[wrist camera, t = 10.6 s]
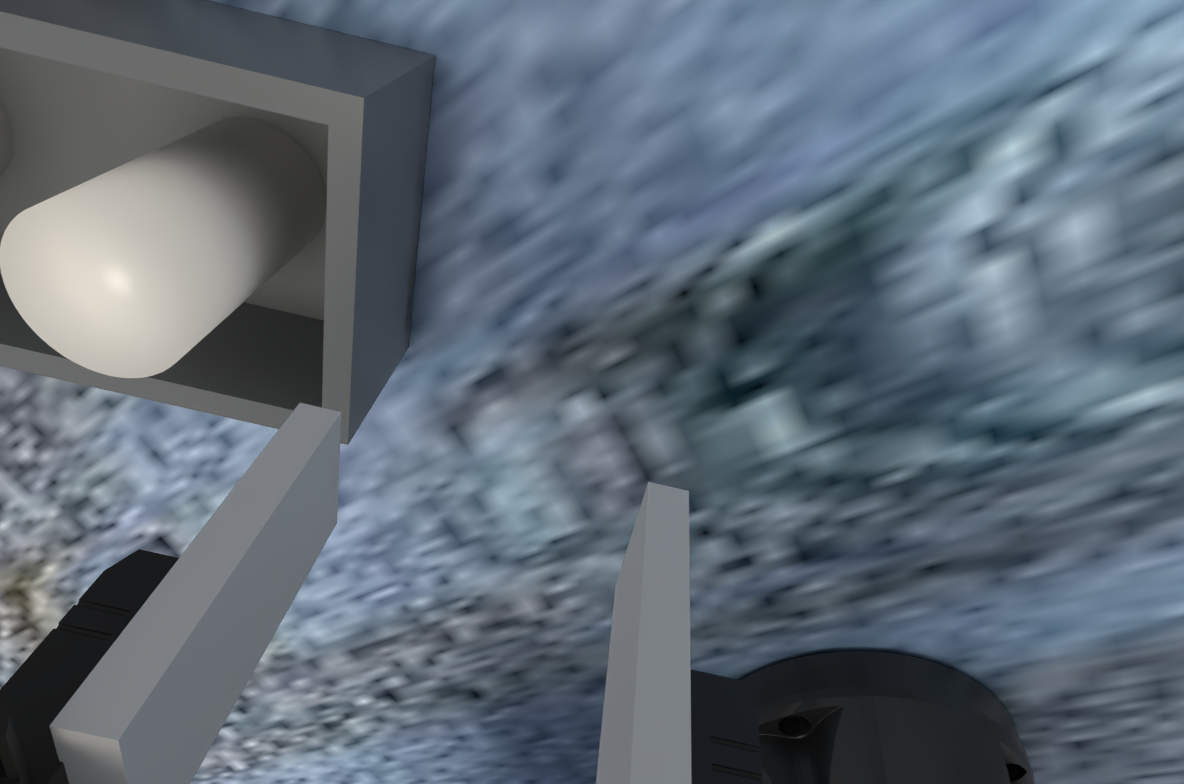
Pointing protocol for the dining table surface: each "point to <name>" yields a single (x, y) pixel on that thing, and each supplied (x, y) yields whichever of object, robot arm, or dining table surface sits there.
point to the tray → (166, 97)
